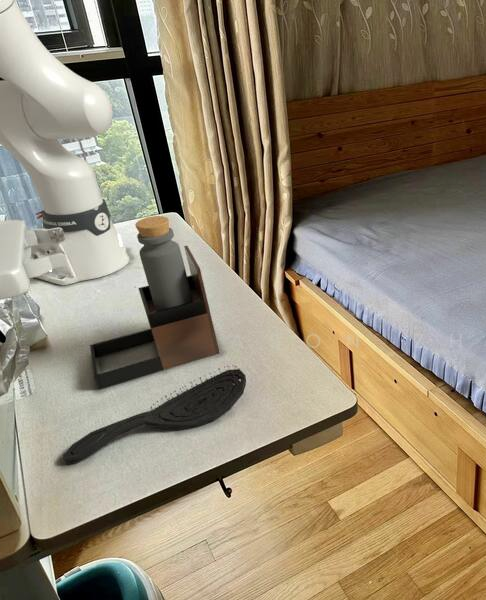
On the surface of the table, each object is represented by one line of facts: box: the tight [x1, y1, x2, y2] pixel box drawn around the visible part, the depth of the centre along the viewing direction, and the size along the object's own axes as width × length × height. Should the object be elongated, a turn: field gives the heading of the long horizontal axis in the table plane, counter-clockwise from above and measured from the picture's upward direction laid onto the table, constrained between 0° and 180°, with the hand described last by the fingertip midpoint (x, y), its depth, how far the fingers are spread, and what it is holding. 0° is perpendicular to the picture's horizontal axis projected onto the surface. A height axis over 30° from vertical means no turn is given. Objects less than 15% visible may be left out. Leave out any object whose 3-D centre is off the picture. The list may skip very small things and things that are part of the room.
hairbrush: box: [62, 364, 247, 465], centre depth 76 cm, size 8×4×25 cm
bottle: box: [135, 215, 193, 311], centre depth 85 cm, size 6×6×15 cm
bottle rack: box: [89, 245, 220, 391], centre depth 87 cm, size 18×10×16 cm, turn 120°
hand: (64, 245), depth 77 cm, fingers open, 8 cm apart
